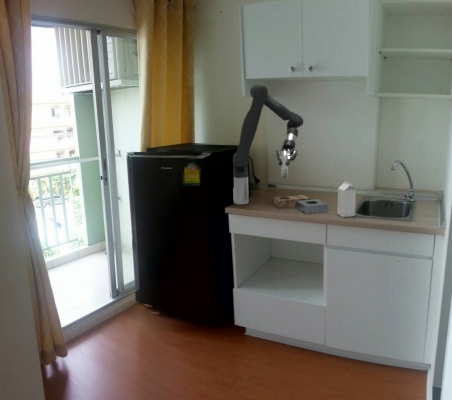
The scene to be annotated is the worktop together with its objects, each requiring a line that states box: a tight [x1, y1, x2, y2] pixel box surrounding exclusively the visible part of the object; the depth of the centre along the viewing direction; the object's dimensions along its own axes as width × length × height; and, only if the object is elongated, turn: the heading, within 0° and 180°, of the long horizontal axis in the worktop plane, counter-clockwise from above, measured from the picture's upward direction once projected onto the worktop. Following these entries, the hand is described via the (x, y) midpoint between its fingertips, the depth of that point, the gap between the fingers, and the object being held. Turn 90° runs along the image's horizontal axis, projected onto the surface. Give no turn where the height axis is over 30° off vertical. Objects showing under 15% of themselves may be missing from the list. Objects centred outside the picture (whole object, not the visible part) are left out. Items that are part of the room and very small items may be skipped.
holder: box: [295, 198, 329, 215], centre depth 244 cm, size 14×14×4 cm
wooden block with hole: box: [273, 194, 311, 210], centre depth 256 cm, size 20×10×5 cm, turn 102°
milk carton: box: [336, 180, 357, 218], centre depth 229 cm, size 7×7×19 cm
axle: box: [280, 150, 289, 179], centre depth 249 cm, size 4×4×16 cm
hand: (283, 164), depth 248 cm, fingers closed on axle, 4 cm apart
